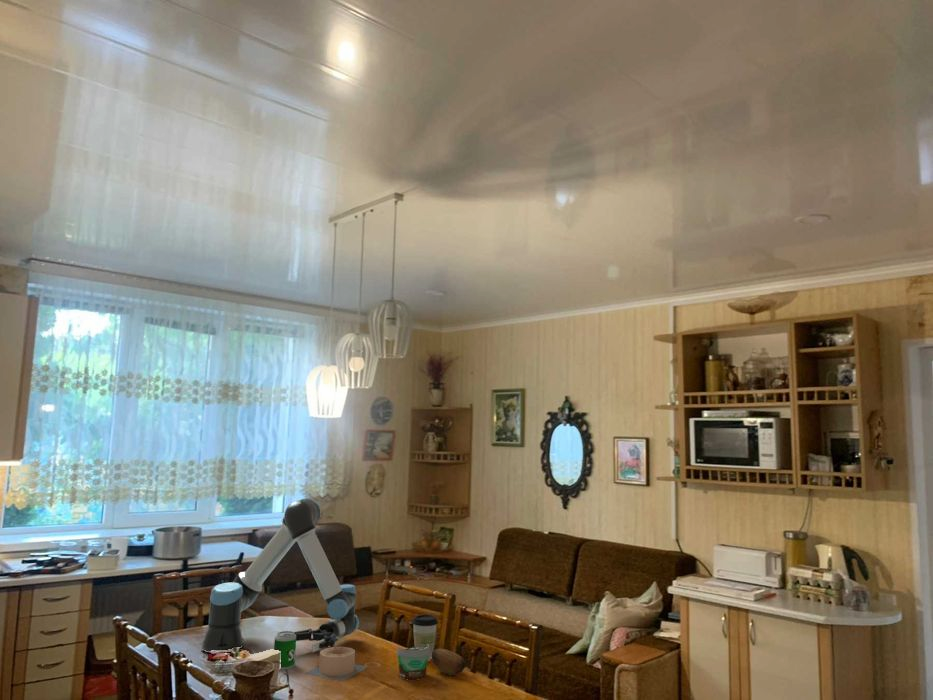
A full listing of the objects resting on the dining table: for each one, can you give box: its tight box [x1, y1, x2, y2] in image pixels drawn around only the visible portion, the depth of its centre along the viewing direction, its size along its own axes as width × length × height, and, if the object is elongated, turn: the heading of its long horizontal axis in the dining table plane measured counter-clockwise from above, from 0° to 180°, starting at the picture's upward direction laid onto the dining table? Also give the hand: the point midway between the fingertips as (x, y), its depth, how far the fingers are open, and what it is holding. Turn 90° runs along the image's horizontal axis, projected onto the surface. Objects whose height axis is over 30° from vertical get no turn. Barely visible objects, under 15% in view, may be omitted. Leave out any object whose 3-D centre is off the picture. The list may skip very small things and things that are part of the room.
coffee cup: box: [411, 614, 439, 662], centre depth 246 cm, size 10×10×15 cm
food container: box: [395, 644, 430, 681], centre depth 225 cm, size 12×6×10 cm, turn 118°
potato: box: [431, 647, 466, 676], centre depth 231 cm, size 8×13×8 cm
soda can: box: [273, 630, 297, 670], centre depth 232 cm, size 8×8×12 cm
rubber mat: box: [303, 663, 369, 682], centre depth 228 cm, size 16×16×1 cm
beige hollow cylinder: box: [318, 646, 356, 676], centre depth 229 cm, size 12×12×6 cm
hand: (297, 645), depth 237 cm, fingers open, 13 cm apart
